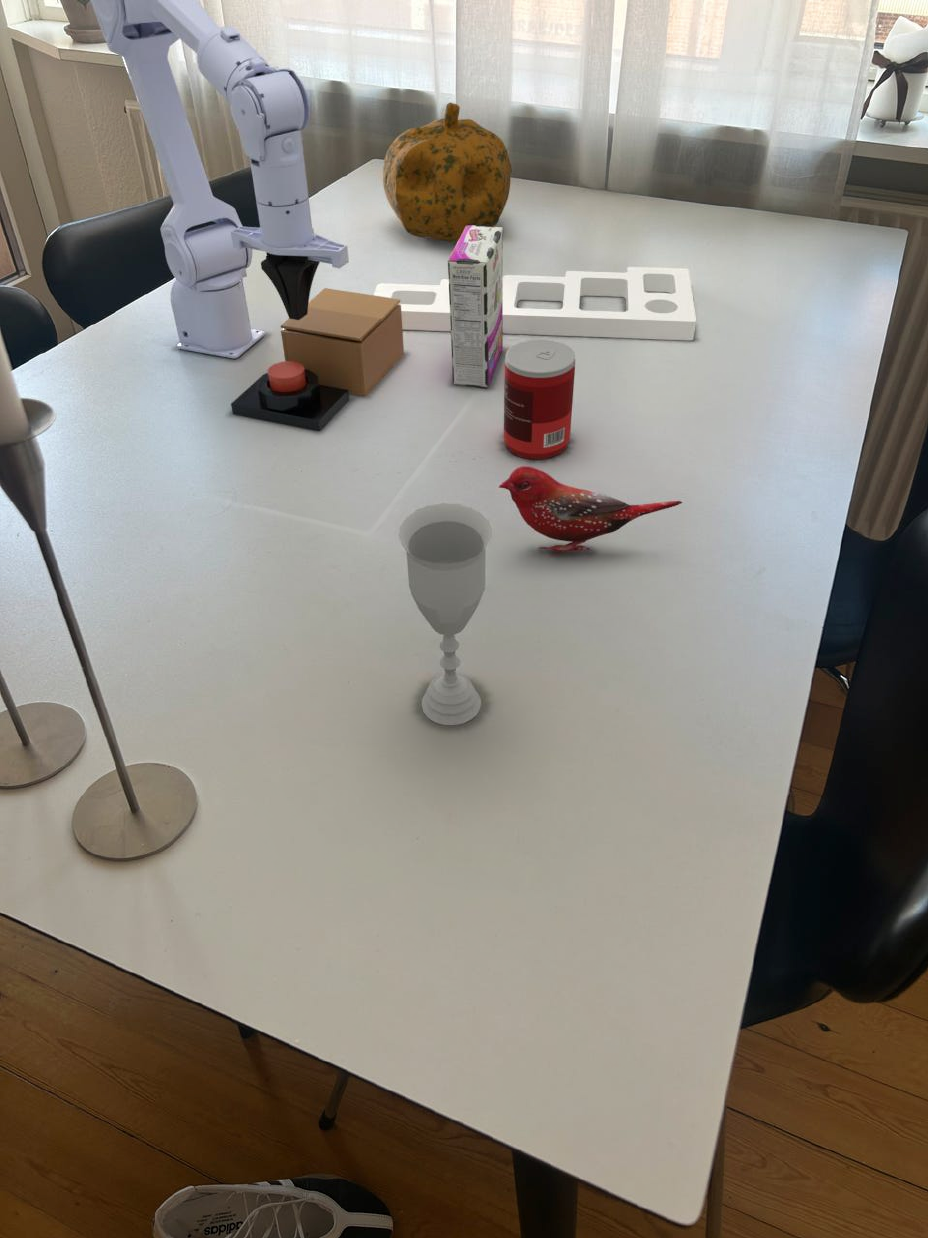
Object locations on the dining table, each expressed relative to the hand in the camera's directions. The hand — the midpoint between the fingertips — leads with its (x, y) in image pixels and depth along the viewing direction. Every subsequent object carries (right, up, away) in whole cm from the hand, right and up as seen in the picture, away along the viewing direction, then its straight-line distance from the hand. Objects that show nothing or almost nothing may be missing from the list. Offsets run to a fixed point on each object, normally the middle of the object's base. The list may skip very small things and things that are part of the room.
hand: (298, 316), depth 115 cm
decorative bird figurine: (+32, -29, -17) cm, 47 cm away
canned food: (+28, -16, -2) cm, 32 cm away
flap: (+5, +4, +9) cm, 12 cm away
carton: (+4, -3, +12) cm, 13 cm away
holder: (+30, +9, +25) cm, 40 cm away
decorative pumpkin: (+17, +29, +48) cm, 59 cm away
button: (-2, -7, +3) cm, 8 cm away
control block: (-2, -10, +5) cm, 11 cm away
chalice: (+19, -43, -33) cm, 57 cm away
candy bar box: (+21, -3, +12) cm, 25 cm away
